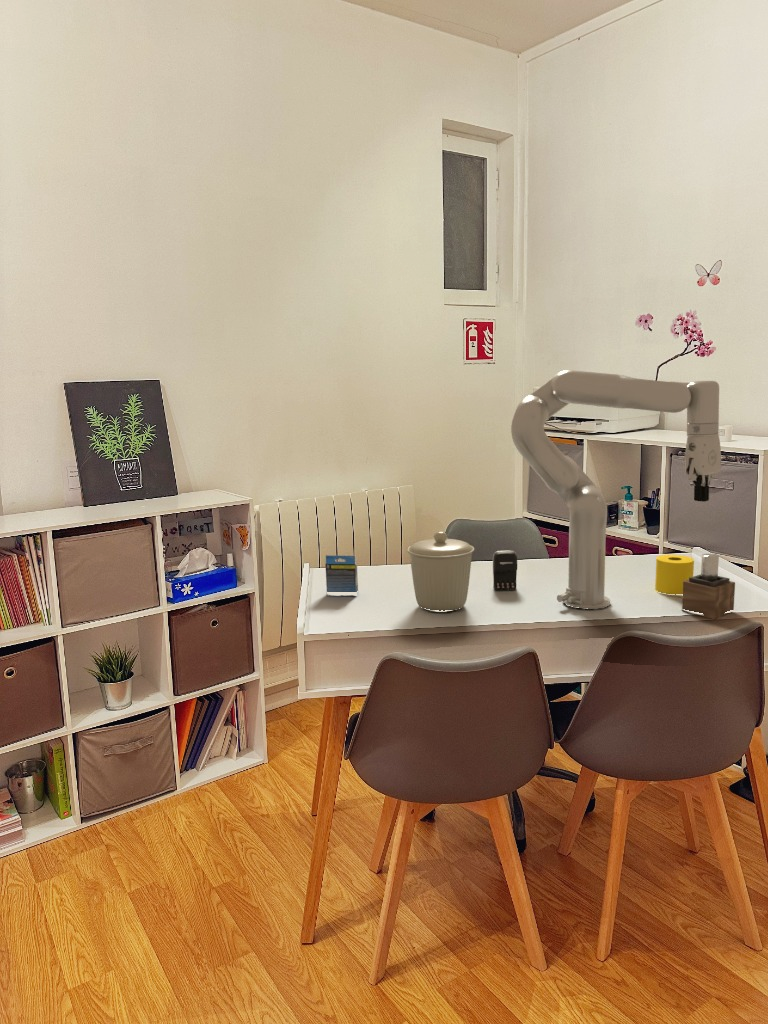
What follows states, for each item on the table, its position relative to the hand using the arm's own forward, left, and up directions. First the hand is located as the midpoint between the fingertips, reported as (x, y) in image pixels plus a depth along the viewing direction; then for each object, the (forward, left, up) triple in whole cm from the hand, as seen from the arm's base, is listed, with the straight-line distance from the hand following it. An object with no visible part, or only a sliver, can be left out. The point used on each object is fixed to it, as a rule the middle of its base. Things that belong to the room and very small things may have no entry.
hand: (701, 500), depth 207 cm
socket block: (-2, -4, -29) cm, 29 cm away
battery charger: (-27, +45, -29) cm, 59 cm away
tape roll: (+8, +13, -29) cm, 33 cm away
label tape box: (-66, +72, -29) cm, 101 cm away
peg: (-2, -4, -22) cm, 22 cm away
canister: (-52, +44, -29) cm, 74 cm away
